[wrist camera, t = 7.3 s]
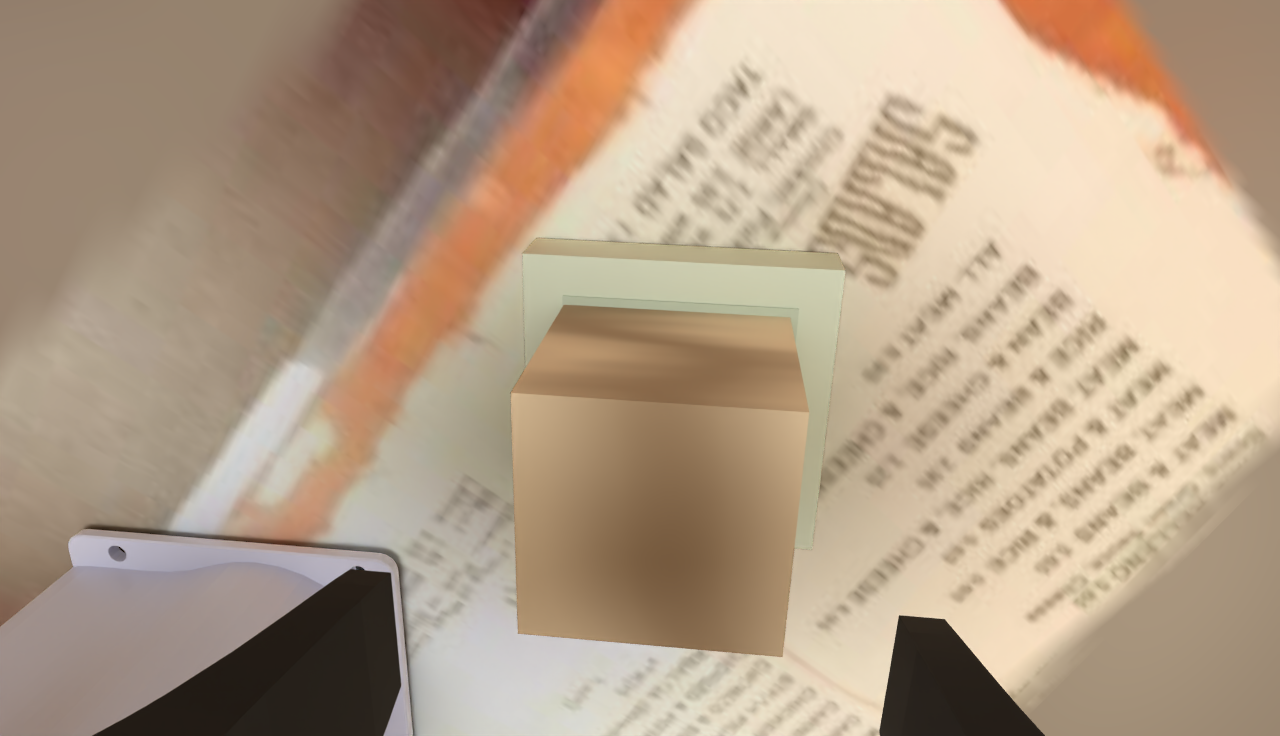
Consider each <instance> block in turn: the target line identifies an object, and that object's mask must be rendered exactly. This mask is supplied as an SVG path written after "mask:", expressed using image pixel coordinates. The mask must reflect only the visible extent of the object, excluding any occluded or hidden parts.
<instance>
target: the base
mask: <svg viewBox="0 0 1280 736" xmlns="http://www.w3.org/2000/svg"><path fill="white" fill-rule="evenodd" d="M522 261H523V305H524V349H525V368H526V366H527V365H528V363H529V361H530V360H531V358H532V356H533V355H534V353H535V352H536V350H537V348H538V347H539V345H540V343H541V342H542V340H543V338H544V337H545V335H546V333H547V332H548V330H549V328H550V327H551V325H552V323H553V322H554V320H555V318H556V317H557V315H558V313H559V312H560V310H561V308H562V307H563V305H581V306H598V307H616V308H634V309H651V310H669V311H686V312H704V313H722V314H739V315H757V316H775V317H790V318H791V323H792V328H793V333H794V338H795V343H796V348H797V353H798V358H799V363H800V368H801V373H802V378H803V383H804V388H805V393H806V398H807V403H808V408H809V420H808V429H807V438H806V447H805V456H804V465H803V475H802V484H801V493H800V502H799V511H798V520H797V529H796V538H795V547H794V549H806V550H812V546H813V538H814V529H815V521H816V513H817V504H818V496H819V488H820V479H821V471H822V463H823V454H824V446H825V438H826V429H827V421H828V413H829V404H830V396H831V388H832V379H833V371H834V363H835V354H836V346H837V338H838V329H839V321H840V313H841V304H842V296H843V288H844V279H845V271H846V270H845V268H844V266H843V264H842V262H841V260H840V257H839V255H838V253H820V252H801V251H781V250H761V249H742V248H722V247H703V246H683V245H664V244H644V243H625V242H605V241H586V240H566V239H546V238H536V239H535V240H534V241H533V242H532V244H531V245H530V246H529V247H528V248H527V249H526V250H525V251H524V252H523V253H522Z"/></svg>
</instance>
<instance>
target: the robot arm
mask: <svg viewBox="0 0 1280 736" xmlns="http://www.w3.org/2000/svg"><path fill="white" fill-rule="evenodd" d="M118 546H119V547H121V548H122V549H123V550H124V551H125V553H124V552H123V551H121V550H120V549H119V547H118ZM68 549H69V553H70V557H71V561H72V565H73V567H72V568H71V569H70V570H69V571H67V572H66V573H65V574H64V575H63V576H61V577H60V578H59V579H58V580H56V581H55V582H54V583H53V584H52V585H50V586H49V587H48V588H47V589H45V590H44V591H43V592H42V593H41V594H39V595H38V596H37V597H36V598H35V599H33V600H32V601H31V602H30V603H28V604H27V605H26V606H25V607H24V608H22V609H21V610H20V611H19V612H17V613H16V614H15V615H14V616H13V617H11V618H10V619H9V620H8V621H7V622H5V623H4V624H3V625H2V626H0V736H413V728H412V717H411V706H410V695H409V684H408V672H407V661H406V650H405V639H404V628H403V617H402V606H401V594H400V583H399V572H398V567H397V564H396V563H395V561H394V560H393V559H392V558H391V557H389V556H387V555H386V554H382V553H374V552H362V551H350V550H338V549H326V548H313V547H301V546H289V545H277V544H265V543H253V542H241V541H228V540H216V539H204V538H192V537H180V536H168V535H156V534H144V533H131V532H119V531H107V530H95V529H84V530H81V531H80V532H78V533H77V534H75V535H74V536H73V537H72V538H70V540H69V542H68ZM355 566H360V567H363V568H364V569H365V570H357V569H356V567H355ZM880 736H1045V735H1044V734H1043V733H1042V732H1041V731H1040V730H1039V729H1038V728H1037V727H1036V725H1035V724H1034V723H1033V722H1032V721H1031V720H1030V719H1029V718H1028V716H1027V715H1026V714H1025V713H1024V712H1023V711H1022V710H1021V709H1020V708H1019V706H1018V705H1017V704H1016V703H1015V702H1014V701H1013V700H1012V698H1011V697H1010V696H1009V695H1008V694H1007V693H1006V692H1005V690H1004V689H1003V688H1002V687H1001V686H1000V684H999V683H998V682H997V681H996V680H995V679H994V677H993V676H992V675H991V674H990V673H989V672H988V670H987V669H986V668H985V667H984V666H983V664H982V663H981V662H980V661H979V660H978V658H977V657H976V656H975V655H974V654H973V652H972V651H971V650H970V649H969V648H968V646H967V645H966V644H965V643H964V642H963V640H962V639H961V638H960V637H959V636H958V634H957V633H956V632H955V631H954V630H953V629H952V627H951V626H950V625H949V624H948V623H947V622H946V620H945V619H935V618H923V617H912V616H900V615H899V619H898V625H897V631H896V637H895V643H894V649H893V655H892V660H891V666H890V672H889V678H888V684H887V690H886V696H885V702H884V707H883V713H882V719H881V725H880Z"/></svg>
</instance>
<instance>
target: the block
mask: <svg viewBox="0 0 1280 736" xmlns="http://www.w3.org/2000/svg"><path fill="white" fill-rule="evenodd" d="M808 420H809V408H808V403H807V398H806V393H805V388H804V383H803V378H802V373H801V368H800V363H799V358H798V353H797V348H796V343H795V338H794V333H793V328H792V323H791V318H790V317H775V316H757V315H739V314H722V313H704V312H686V311H669V310H651V309H634V308H616V307H598V306H581V305H563V307H562V308H561V310H560V312H559V313H558V315H557V317H556V318H555V320H554V322H553V323H552V325H551V327H550V328H549V330H548V332H547V333H546V335H545V337H544V338H543V340H542V342H541V343H540V345H539V347H538V348H537V350H536V352H535V353H534V355H533V356H532V358H531V360H530V361H529V363H528V365H527V366H526V368H525V370H524V371H523V373H522V375H521V376H520V378H519V380H518V381H517V383H516V385H515V386H514V388H513V390H512V391H511V423H512V455H513V488H514V521H515V554H516V586H517V619H518V634H528V635H540V636H551V637H562V638H574V639H585V640H596V641H608V642H619V643H630V644H642V645H653V646H664V647H676V648H687V649H698V650H709V651H721V652H732V653H743V654H755V655H766V656H777V657H782V656H783V647H784V638H785V629H786V620H787V611H788V602H789V593H790V583H791V574H792V565H793V556H794V547H795V538H796V529H797V520H798V511H799V502H800V493H801V484H802V475H803V465H804V456H805V447H806V438H807V429H808Z"/></svg>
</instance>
